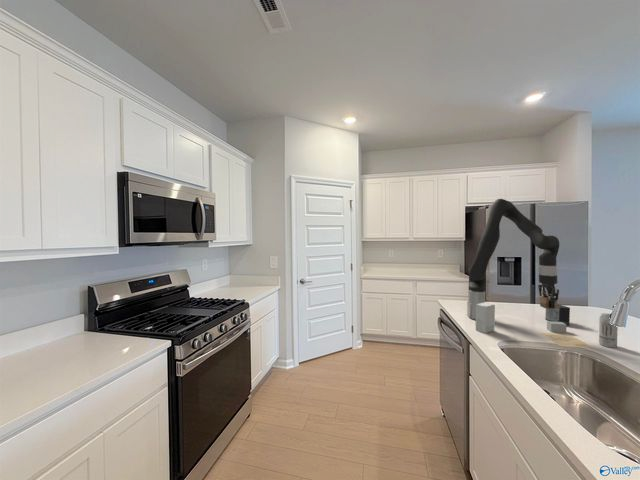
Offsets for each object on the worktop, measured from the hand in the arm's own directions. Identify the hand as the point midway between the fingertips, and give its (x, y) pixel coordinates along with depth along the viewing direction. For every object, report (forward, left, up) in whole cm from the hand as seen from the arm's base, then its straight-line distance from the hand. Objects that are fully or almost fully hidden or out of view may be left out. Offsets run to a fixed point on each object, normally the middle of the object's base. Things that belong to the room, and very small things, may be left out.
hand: (548, 306), depth 145 cm
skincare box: (-29, +1, -16) cm, 33 cm away
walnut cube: (0, 0, 0) cm, 0 cm away
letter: (+5, -6, -15) cm, 17 cm away
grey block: (+8, +8, -15) cm, 19 cm away
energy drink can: (+20, -10, -16) cm, 27 cm away
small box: (+18, +25, -16) cm, 35 cm away
